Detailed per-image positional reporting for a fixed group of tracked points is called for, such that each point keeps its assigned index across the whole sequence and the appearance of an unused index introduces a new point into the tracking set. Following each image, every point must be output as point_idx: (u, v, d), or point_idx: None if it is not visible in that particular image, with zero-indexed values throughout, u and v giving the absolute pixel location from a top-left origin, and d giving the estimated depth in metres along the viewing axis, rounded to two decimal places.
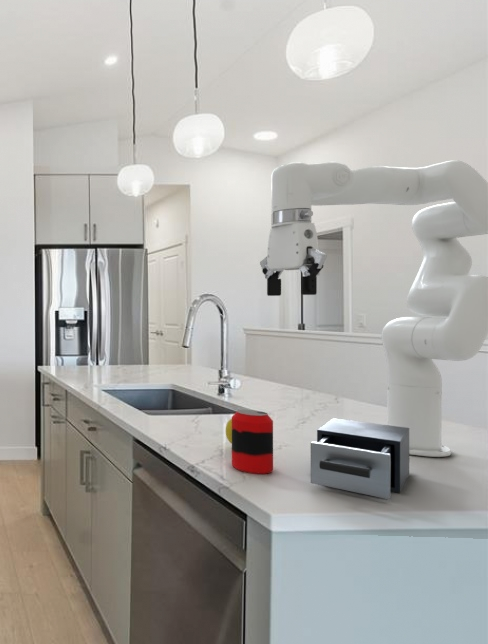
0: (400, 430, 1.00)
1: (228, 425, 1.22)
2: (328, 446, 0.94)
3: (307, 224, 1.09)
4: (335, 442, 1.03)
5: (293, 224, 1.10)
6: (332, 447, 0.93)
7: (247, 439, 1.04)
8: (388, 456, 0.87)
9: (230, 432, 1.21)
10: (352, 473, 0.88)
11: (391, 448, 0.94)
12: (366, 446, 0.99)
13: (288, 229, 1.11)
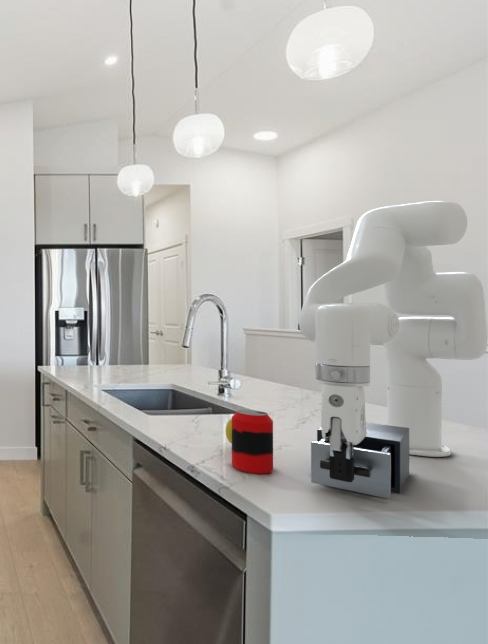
0: (400, 430, 1.00)
1: (228, 425, 1.22)
2: (328, 446, 0.94)
3: (336, 387, 0.85)
4: None
5: None
6: None
7: (247, 439, 1.04)
8: (388, 456, 0.88)
9: (230, 432, 1.21)
10: None
11: (391, 448, 0.94)
12: (366, 445, 1.00)
13: None
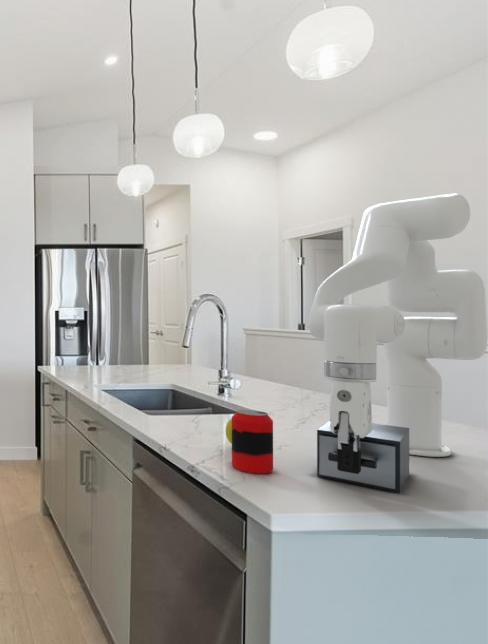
0: (400, 430, 1.00)
1: (228, 425, 1.22)
2: (336, 439, 0.98)
3: (344, 383, 0.89)
4: None
5: (331, 380, 0.92)
6: None
7: (247, 439, 1.04)
8: (393, 448, 0.92)
9: (230, 432, 1.21)
10: None
11: None
12: None
13: None
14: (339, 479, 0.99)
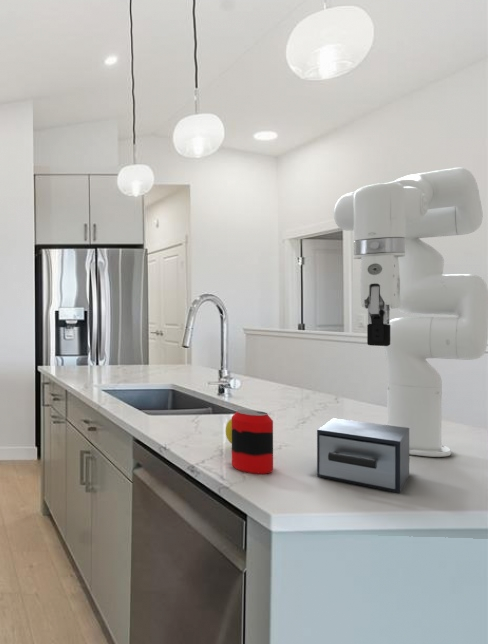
0: (400, 430, 1.00)
1: (228, 425, 1.22)
2: (336, 439, 0.98)
3: (375, 257, 0.93)
4: None
5: (361, 258, 0.95)
6: (340, 440, 0.98)
7: (247, 439, 1.04)
8: (393, 448, 0.92)
9: (230, 432, 1.21)
10: (359, 464, 0.92)
11: None
12: None
13: None
14: (339, 479, 0.99)
